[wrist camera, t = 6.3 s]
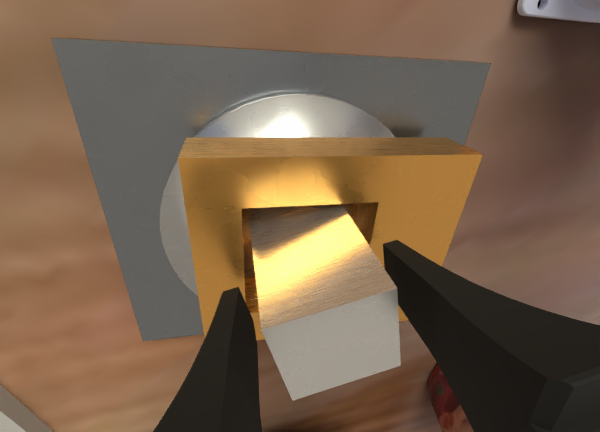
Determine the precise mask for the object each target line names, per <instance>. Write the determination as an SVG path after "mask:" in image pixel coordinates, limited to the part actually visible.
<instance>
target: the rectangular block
mask: <svg viewBox="0 0 600 432" xmlns="http://www.w3.org/2000/svg"><path fill="white" fill-rule="evenodd" d="M248 214H249V223H250V232H251V241H252V250H253V260H254V269H255V278H256V287H257V296H258V306H259V315H260V324H261V331H262V333H263V335H264V338H265V340H266V342H267V344H268V347H269V349H270V351H271V353H272V356H273V358H274V360H275V362H276V365H277V367H278V369H279V371H280V374H281V376H282V378H283V380H284V383H285V385H286V387H287V389H288V392H289V394H290V396H291V398H292V401H293V400H296V399H299V398H303V397H306V396H309V395H312V394H315V393H318V392H321V391H324V390H327V389H330V388H333V387H336V386H340V385H343V384H346V383H349V382H352V381H355V380H358V379H361V378H364V377H367V376H370V375H373V374H376V373H380V372H383V371H386V370H389V369H392V368H395V367H398V366H401V360H400V338H399V315H398V292H397V287H396V285H395V284H394V282H393V281H392V279H391V278H390V276H389V275H388V273H387V272H386V270H385V269H384V267H383V266H382V264H381V263H380V261H379V260H378V258H377V257H376V255H375V254H374V252H373V250H372V249H371V247H370V246H369V244H368V243H367V241H366V240H365V238H364V237H363V235H362V234H361V232H360V231H359V229H358V228H357V226H356V225H355V223H354V222H353V220H352V219H351V217H350V216H349V214H348V213H347V211H346V209H345V208H344V206H343V205H342V204H329V205H307V206H285V207H263V208H248Z"/></svg>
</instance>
